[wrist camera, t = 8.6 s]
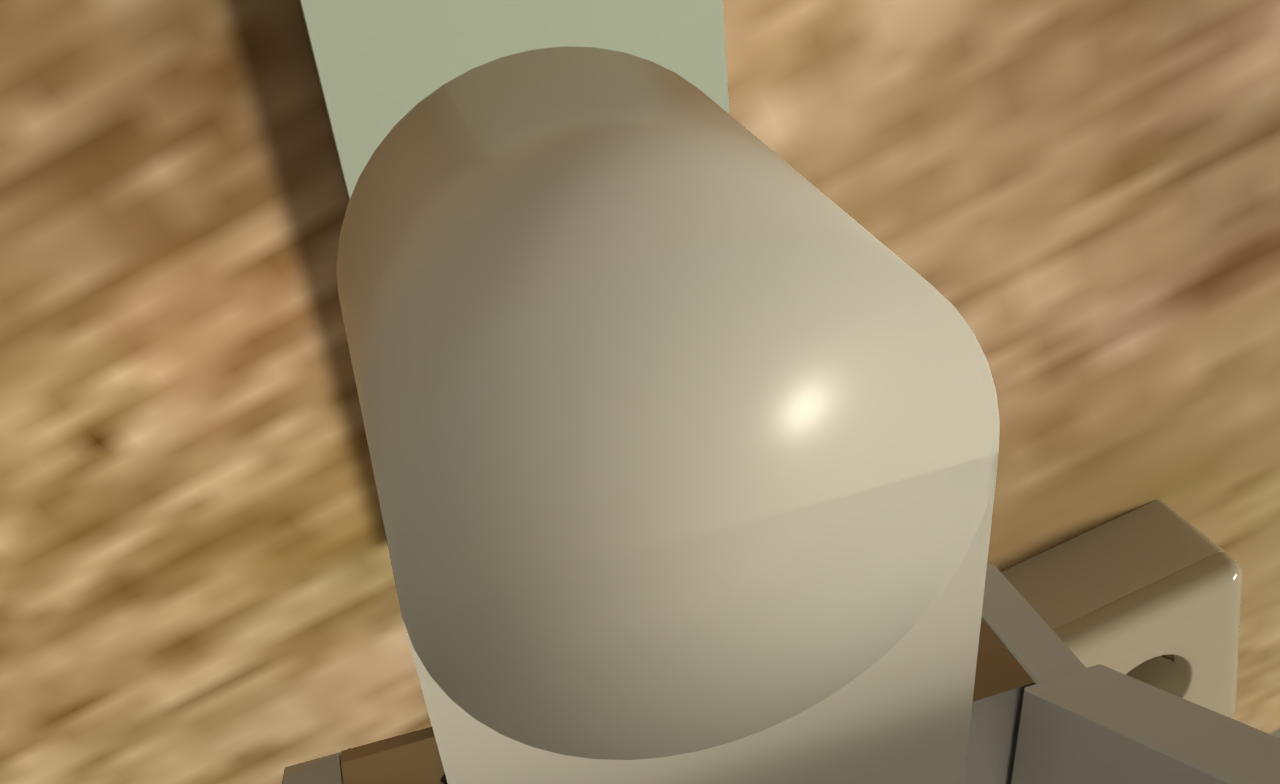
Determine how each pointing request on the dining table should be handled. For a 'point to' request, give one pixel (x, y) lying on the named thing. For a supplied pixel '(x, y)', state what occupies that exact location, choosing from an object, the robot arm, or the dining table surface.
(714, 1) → the sage board
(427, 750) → the robot arm
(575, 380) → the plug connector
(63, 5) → the dining table surface
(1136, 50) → the dining table surface
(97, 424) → the dining table surface
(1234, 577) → the electrical outlet
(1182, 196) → the dining table surface
